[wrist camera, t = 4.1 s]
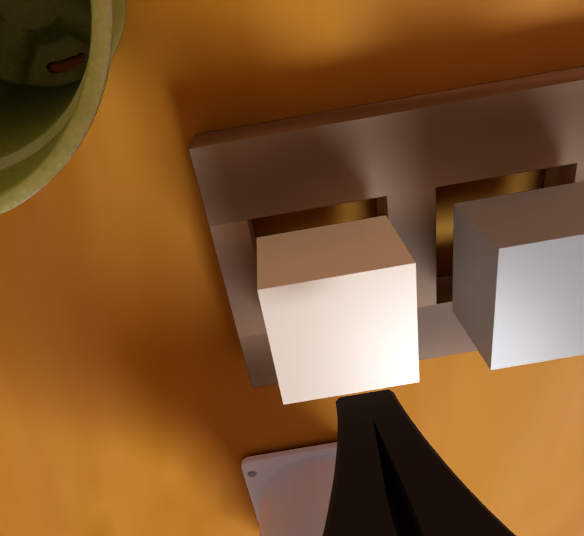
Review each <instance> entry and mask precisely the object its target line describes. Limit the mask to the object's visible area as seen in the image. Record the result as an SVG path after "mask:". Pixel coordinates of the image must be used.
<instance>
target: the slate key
mask: <svg viewBox="0 0 584 536" xmlns="http://www.w3.org/2000/svg"><path fill="white" fill-rule="evenodd" d="M452 311H453V313H454V314H455V316H456V317H457V319H458V320H459V322H460V323H461V325H462V326H463V328H464V330H465V331H466V333H467V334H468V336H469V337H470V339H471V340H472V342H473V343H474V345H475V347H476V348H477V350H478V351H479V353H480V354H481V356H482V357H483V359H484V360H485V362H486V364H487V365H488V367H489V368H490V370H494V369H500V368H506V367H512V366H518V365H524V364H530V363H536V362H542V361H548V360H554V359H560V358H566V357H572V356H578V355H584V181H582V182H576V183H570V184H565V185H559V186H553V187H547V188H541V189H536V190H530V191H524V192H518V193H512V194H507V195H501V196H495V197H489V198H483V199H478V200H472V201H466V202H460V203H454V229H453V299H452Z"/></svg>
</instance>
